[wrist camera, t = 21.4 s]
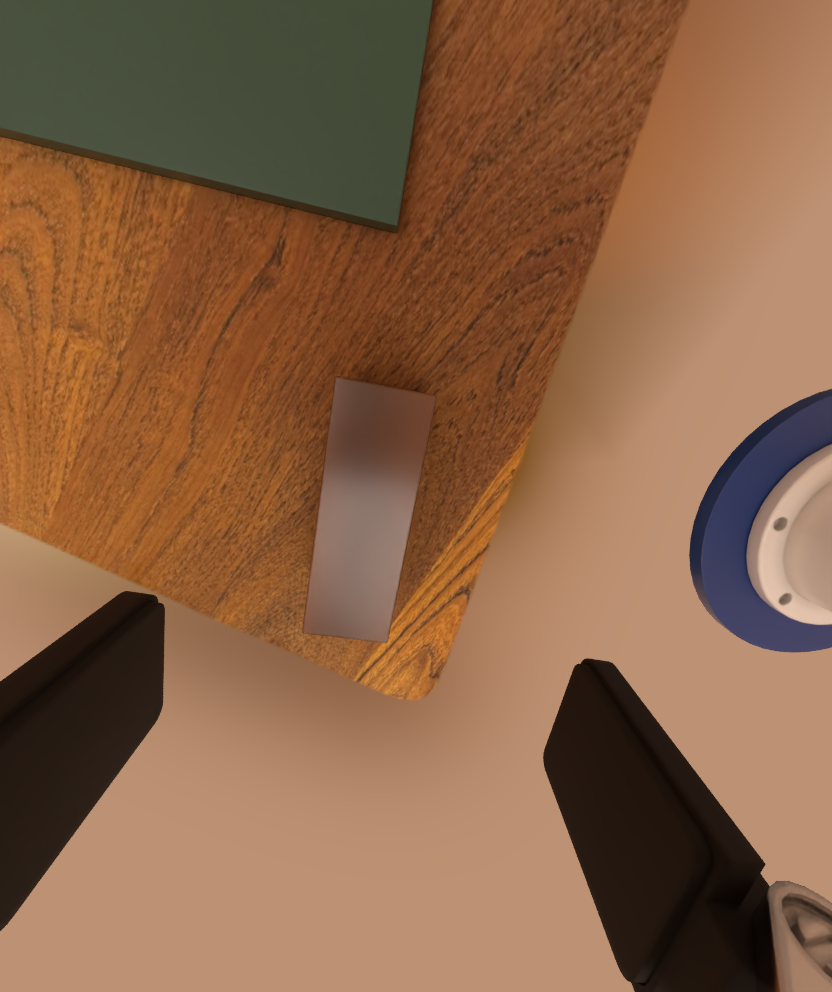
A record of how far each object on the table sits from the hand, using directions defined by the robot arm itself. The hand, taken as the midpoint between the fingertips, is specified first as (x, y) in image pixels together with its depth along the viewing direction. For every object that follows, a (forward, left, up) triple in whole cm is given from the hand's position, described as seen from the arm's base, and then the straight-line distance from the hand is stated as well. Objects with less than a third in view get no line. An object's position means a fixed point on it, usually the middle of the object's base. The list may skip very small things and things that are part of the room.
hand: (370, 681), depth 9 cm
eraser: (+1, 0, -16) cm, 16 cm away
